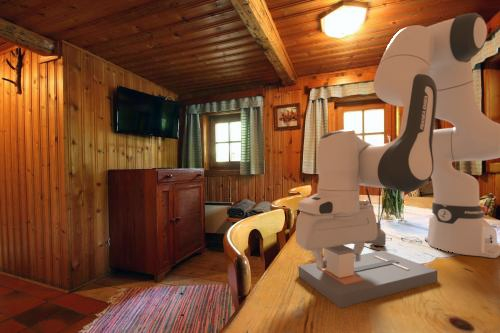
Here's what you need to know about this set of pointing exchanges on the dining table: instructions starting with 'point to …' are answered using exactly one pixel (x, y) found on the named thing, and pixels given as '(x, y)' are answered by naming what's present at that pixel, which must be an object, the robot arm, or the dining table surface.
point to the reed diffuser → (378, 225)
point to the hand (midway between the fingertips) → (338, 264)
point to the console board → (368, 278)
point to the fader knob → (339, 260)
